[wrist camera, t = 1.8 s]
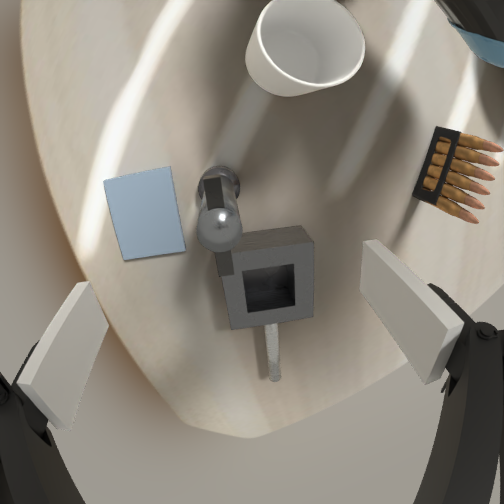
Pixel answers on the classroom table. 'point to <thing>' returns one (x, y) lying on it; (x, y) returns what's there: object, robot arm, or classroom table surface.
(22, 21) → the classroom table surface
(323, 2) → the mug
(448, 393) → the robot arm
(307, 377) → the classroom table surface
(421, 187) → the ammunition clip
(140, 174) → the mat
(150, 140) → the classroom table surface
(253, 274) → the block
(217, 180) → the key
